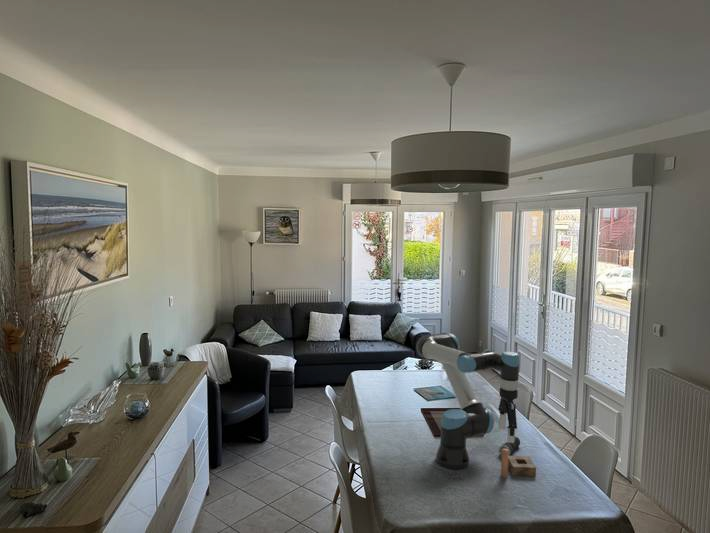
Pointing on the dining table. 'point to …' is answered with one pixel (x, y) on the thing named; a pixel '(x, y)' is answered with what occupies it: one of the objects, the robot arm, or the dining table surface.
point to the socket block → (521, 466)
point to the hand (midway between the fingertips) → (506, 435)
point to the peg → (504, 463)
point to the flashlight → (510, 446)
